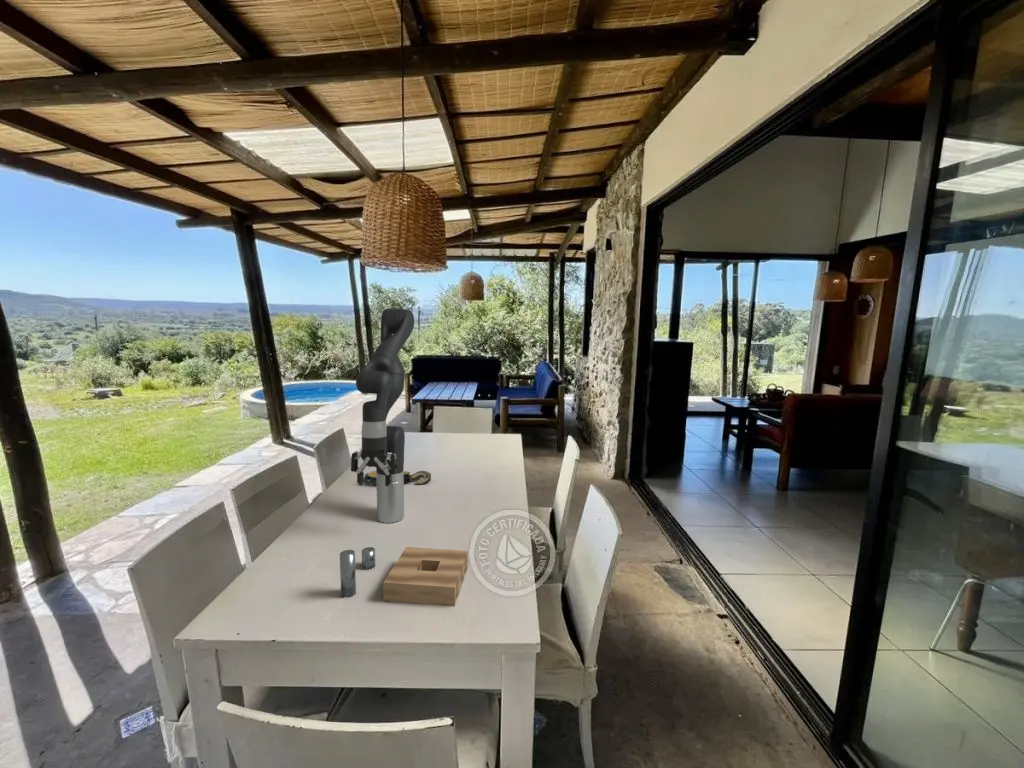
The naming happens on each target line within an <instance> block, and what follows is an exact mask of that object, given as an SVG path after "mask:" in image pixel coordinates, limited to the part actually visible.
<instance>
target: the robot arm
mask: <svg viewBox="0 0 1024 768" xmlns="http://www.w3.org/2000/svg"><path fill="white" fill-rule="evenodd" d="M414 327H415V315H414V313H413V311H412V310H411V309H407V308H384V310H383V311H382V314H381V318H380V344H379V345H378V346H377V347H376V348H375V351H374V353H373V355H372V358H371V359H370V361H369V362H368V363H367V364H366V365H365V366H364V367H362V369H361V370H360V371H359V373H358V375H357V376H356V379H355V386H356V387H355V388H356V389H357V390H358V392H360V393H362V394H370V395H371V394H372V395H373V394H374V395H375V396H376V399H375V400H374V399H373V400H368V401H366V402H363V404H362V410H361V411H362V424H361V430H360V431H361V432H360V433H361V452H359V451H354V452H352V453H351V457H350V459H351V460H350V461H351V463H350V464H351V465H350V472H352V473H353V472H354V473H356V475H357V476H356V479H357V480H356V481H357V484H358V486H363V485H364V484H365V483H364V477H365V473H364V470H365V469H366V468H367V467H368V468H372V467H373V468H375V471H376V479H377V484H376V506H377V507H376V510H377V511H376V513H377V515H376V517H377V521H378V522H380V523H383V522H384V524H392V522H393V523H397V521H398V522H400V521H402V520H403V519H404V518H405V497H404V496H405V484H404V472H403V471H405V470H404V468H405V467H404V465H405V441H406V439H405V438H406V437H405V435H406V434H405V431H404V428H403V427H402V426H398V425H387V417H388V414H389V412H390V411H391V409H392V408H393V406H394V405H395V403H396V402H397V401H398V399H399V398H400V396H401V395H402V394H403V391H404V389H405V388H404V387H405V375H406V374H405V373H406V371H405V368H404V365H403V363H402V361H401V360H400V357H399V356H398V354H399V352H400V351H401V349H402V348H403V346H404V345H405V344H406V342H407V341H408V339H409V338H410V336H411V334H412V333H413V330H414ZM359 459H362V463H361V464H360V465H359Z"/></svg>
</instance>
